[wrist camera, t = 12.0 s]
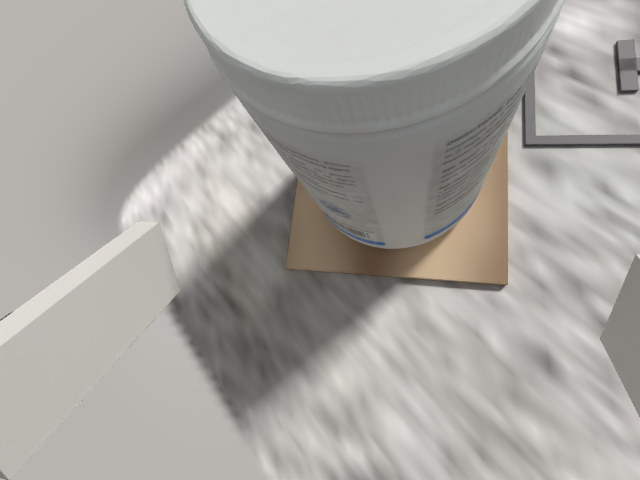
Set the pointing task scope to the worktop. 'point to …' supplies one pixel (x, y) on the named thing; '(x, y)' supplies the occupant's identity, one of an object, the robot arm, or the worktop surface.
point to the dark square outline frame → (628, 83)
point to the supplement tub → (381, 98)
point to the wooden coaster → (418, 261)
